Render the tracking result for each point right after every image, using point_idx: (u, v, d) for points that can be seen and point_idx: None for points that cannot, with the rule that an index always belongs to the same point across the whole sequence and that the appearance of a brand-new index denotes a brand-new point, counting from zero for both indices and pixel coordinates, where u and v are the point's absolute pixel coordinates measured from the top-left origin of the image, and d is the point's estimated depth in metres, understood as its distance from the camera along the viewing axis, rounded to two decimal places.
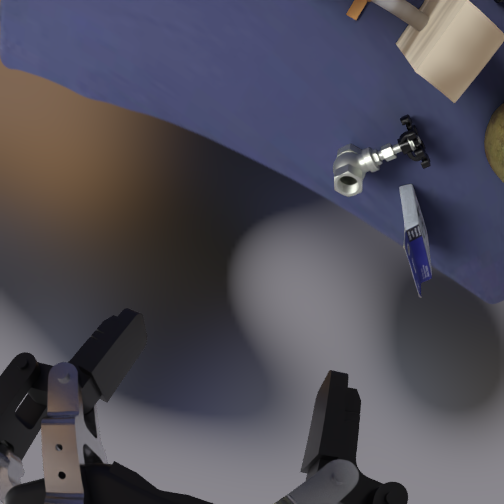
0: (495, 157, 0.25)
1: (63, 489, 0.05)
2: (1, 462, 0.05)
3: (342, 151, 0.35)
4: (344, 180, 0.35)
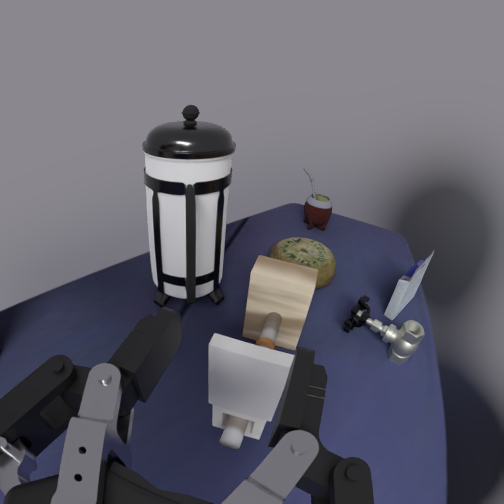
0: (326, 272, 0.54)
1: (75, 491, 0.05)
2: (13, 457, 0.05)
3: (397, 357, 0.40)
4: None
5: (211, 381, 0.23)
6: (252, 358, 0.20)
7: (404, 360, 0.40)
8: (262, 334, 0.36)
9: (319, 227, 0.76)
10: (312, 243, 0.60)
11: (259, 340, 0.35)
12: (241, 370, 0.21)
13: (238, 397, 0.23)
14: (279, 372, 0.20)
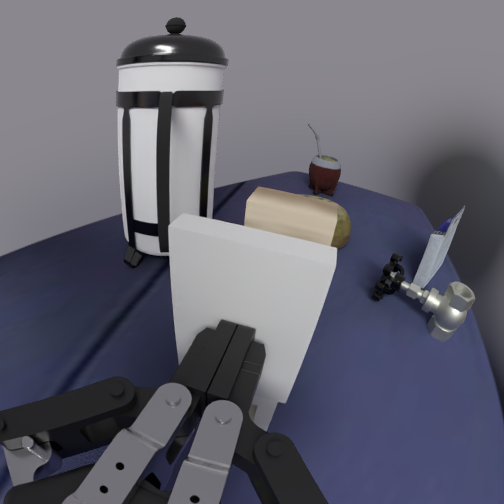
0: (341, 229, 0.43)
1: (95, 500, 0.05)
2: (36, 456, 0.06)
3: (441, 332, 0.29)
4: None
5: (179, 322, 0.13)
6: (254, 249, 0.10)
7: (449, 335, 0.29)
8: None
9: (326, 192, 0.65)
10: None
11: None
12: (232, 286, 0.11)
13: None
14: (309, 281, 0.10)
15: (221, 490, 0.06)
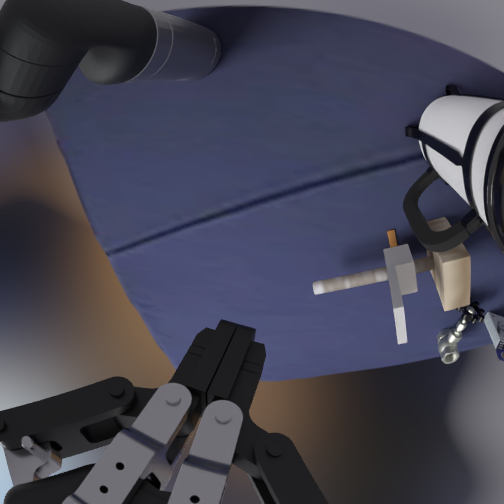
0: None
1: (95, 500, 0.05)
2: (36, 456, 0.06)
3: (439, 338, 0.49)
4: None
5: None
6: (396, 327, 0.32)
7: None
8: None
9: None
10: None
11: None
12: None
13: None
14: None
15: (221, 490, 0.06)
